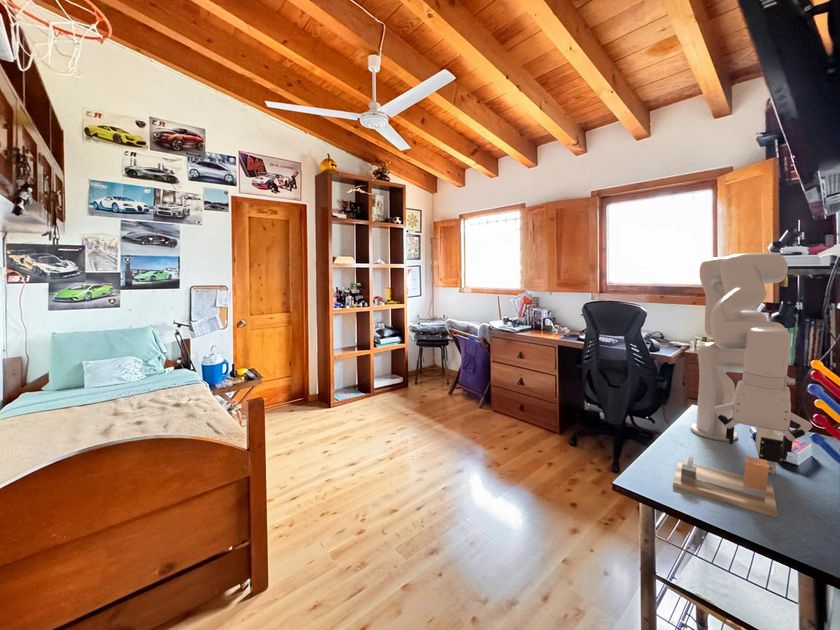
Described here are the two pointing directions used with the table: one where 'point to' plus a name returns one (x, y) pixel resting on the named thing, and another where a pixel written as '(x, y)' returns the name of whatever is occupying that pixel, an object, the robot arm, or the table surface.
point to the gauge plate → (722, 487)
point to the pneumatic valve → (769, 447)
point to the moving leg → (755, 476)
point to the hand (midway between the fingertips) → (756, 447)
